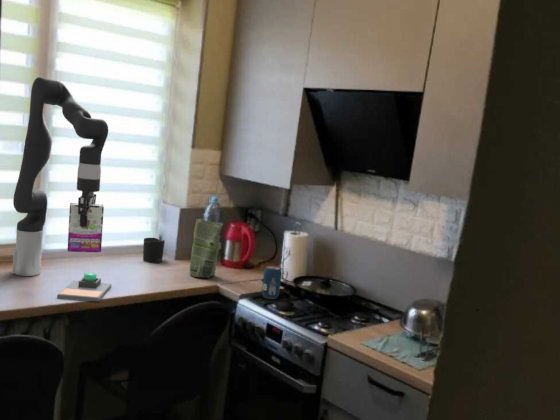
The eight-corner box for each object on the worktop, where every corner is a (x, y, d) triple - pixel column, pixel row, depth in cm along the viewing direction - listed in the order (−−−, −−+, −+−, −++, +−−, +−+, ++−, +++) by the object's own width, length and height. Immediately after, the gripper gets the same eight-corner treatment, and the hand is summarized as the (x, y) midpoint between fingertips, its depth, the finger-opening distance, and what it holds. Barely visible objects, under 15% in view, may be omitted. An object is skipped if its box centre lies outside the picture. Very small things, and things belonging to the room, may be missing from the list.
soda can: (271, 293, 230) (274, 264, 229) (282, 298, 225) (285, 268, 223) (257, 295, 225) (261, 265, 224) (269, 300, 220) (272, 270, 219)
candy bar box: (100, 249, 202) (103, 204, 200) (101, 252, 197) (104, 206, 195) (66, 248, 198) (69, 202, 196) (66, 251, 193) (70, 204, 191)
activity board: (57, 298, 195) (57, 289, 195) (73, 283, 214) (73, 275, 213) (98, 301, 196) (99, 292, 196) (111, 286, 215) (111, 278, 215)
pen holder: (143, 262, 258) (144, 241, 256) (141, 258, 266) (142, 237, 265) (164, 263, 261) (165, 242, 260) (161, 258, 270) (163, 238, 268)
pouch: (188, 272, 249) (193, 216, 246) (214, 273, 253) (220, 218, 250) (191, 279, 239) (196, 220, 236) (219, 280, 242) (224, 222, 239)
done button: (82, 281, 208) (82, 275, 207) (85, 278, 212) (86, 272, 212) (94, 282, 208) (94, 276, 208) (97, 279, 212) (97, 273, 212)
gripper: (94, 179, 188) (91, 229, 190) (105, 176, 202) (101, 223, 204) (71, 177, 187) (68, 227, 189) (83, 174, 201) (80, 221, 203)
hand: (85, 225), depth 196 cm, fingers closed on candy bar box, 5 cm apart
